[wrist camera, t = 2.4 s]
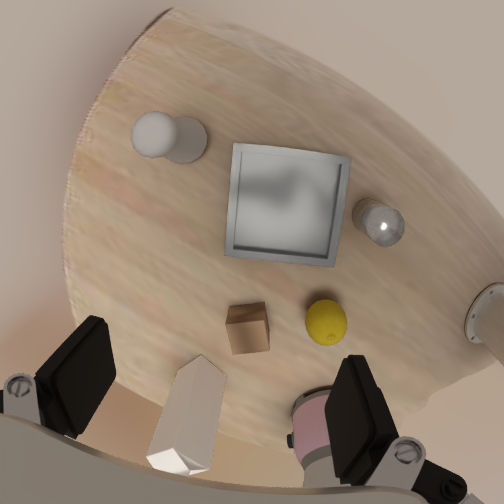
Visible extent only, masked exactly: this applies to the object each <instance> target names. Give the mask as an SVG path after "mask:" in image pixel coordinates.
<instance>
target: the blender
mask: <svg viewBox="0 0 504 504" xmlns="http://www.w3.org/2000/svg"><path fill="white" fill-rule="evenodd" d="M330 391H331V390H324V391H319V392H316V393H313V394H311V395H308V396H307V397H305V396H304V395H301V396H300V397H299V398H298V399H297V400H296V405H295V407H294V409H293V412H292V420H293V432H292V434H288V435H287V443H288V447H289V448H294V449H295V452H294V454H295V457H296V459H298V461H299V463H300V464H301V465H302V467H303V469H304V482H303V488H320V487H341V486H351V484H342V485H340V479H339V478H336V477H335V472H334V466H333V459H332V453H331V447H330V441H329V435H328V429H327V423H326V418H325V412H324V408H325V403H326V401H327V399H328V396H329V394H330Z"/></svg>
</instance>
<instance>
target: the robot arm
mask: <svg viewBox="0 0 504 504" xmlns="http://www.w3.org/2000/svg"><path fill="white" fill-rule="evenodd" d="M465 334H466V336H467V338H468V339H469V340H470V341H471V342H472V343H475V344H479V343H483V344H484V345H485V346H486V347H487V348H488V349H489V350H490V351H491V353H492V354H493V355H494V356H495V357H496V358H497V359H498V360H499V362H500V363H501V364H502V365H503V366H504V285H503V284H501V283H497V284H493V285H491V286H489V287H488V288H486V289H485V290H484V291H483V292H482V293H481V294H480V295H479V296H478V297H477V299H476V300H475V302H474V303H473V305H472V307H471V308H470V310H469V313H468V315H467V319H466V323H465ZM35 374H36V376H35V377H34V378H32V377H31V376H30V375H28V374H24V373H18V374H14V375H12V376H10V377H9V378H8V379H7V380H6V382H5V384H4V388H3V390H0V504H484V503H483V502H482V501H480V500H479V499H478V498H477V497H476V496H475V495H473V494H472V493H471V494H470V495H468V494H467V485H466V482H465V480H464V479H463V478H462V477H460V476H459V475H457V474H455V473H453V472H451V471H449V470H446V469H444V468H442V467H440V466H438V465H436V464H434V463H432V462H430V461H428V460H426V459H425V457H426V451H425V448H424V446H423V445H422V443H420V441H418V440H416V439H415V438H412V437H405V436H404V437H399V435H398V432H397V429H396V427H395V424H394V421H393V419H392V416H391V414H390V411H389V408H388V406H387V403H386V401H385V398H384V396H383V393H382V391H381V389H380V388H379V387H377V385H376V383H375V380H374V378H373V375H372V373H371V371H370V368H369V366H368V363H367V361H366V359H365V357H364V356H363V355H349V356H348V358H344V359H343V361H342V364H341V366H340V369H339V371H338V374H337V377H336V379H335V382H334V384H333V387H332V389H331V391H330V394H329V396H328V399H327V401H326V403H325V408H324V412H325V418H326V423H327V429H328V435H329V441H330V447H331V453H332V459H333V466H334V472H335V477H336V478H339V479H340V485H342V484H351V486H341V487H320V488H286V487H284V488H282V487H263V486H249V485H240V484H231V483H223V482H217V481H210V480H204V479H198V478H193V477H188V476H183V475H179V474H174V473H170V472H166V471H162V470H158V469H154V468H150V467H147V466H143V465H140V464H137V463H133V462H130V461H127V460H124V459H121V458H118V457H115V456H112V455H110V454H107V453H104V452H101V451H99V450H96V449H94V448H91V447H89V446H86V445H84V444H82V443H79V442H77V441H74V440H72V439H70V438H68V437H65V436H64V435H67V436H69V437H71V438H73V439H76V438H77V436H78V434H82V433H83V432H84V430H85V428H86V427H87V425H88V423H89V422H90V420H91V418H92V416H93V414H94V413H95V411H96V409H97V408H98V406H99V405H100V403H101V401H102V400H103V398H104V396H105V395H106V393H107V391H108V389H109V388H110V386H111V385H112V383H113V381H114V380H115V377H116V368H115V363H114V358H113V353H112V347H111V341H110V335H109V329H108V324H107V323H106V322H105V320H104V319H103V318H100V317H96V316H93V315H90V316H89V317H88V318H87V319H86V320H85V321H84V322H83V323H82V324H81V325H80V326H79V327H78V328H77V329H76V330H75V331H74V332H73V333H72V334H71V335H70V336H69V337H68V338H67V339H66V340H65V341H64V342H63V343H62V345H61V346H60V347H59V348H58V349H57V350H56V351H55V352H54V353H53V354H52V355H51V357H49V359H48V360H47V361H46V362H45V363H44V364H43V365H42V366H41V367H40V369H39V370H38V371H37V372H36V373H35Z"/></svg>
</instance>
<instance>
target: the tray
mask: <svg viewBox="0 0 504 504" xmlns="http://www.w3.org/2000/svg"><path fill="white" fill-rule="evenodd" d="M350 162H351V157H345V156H339V155H333V154H327V153H321V152H314V151H307V150H300V149H292V148H284V147H275V146H266V145H256V144H244V143H234V145H233V156H232V167H231V178H230V190H229V202H228V215H227V229H226V243H225V256H228V257H238V258H247V259H257V260H266V261H276V262H286V263H296V264H305V265H315V266H325V267H334V264H335V259H336V253H337V248H338V242H339V237H340V231H341V225H342V219H343V213H344V206H345V199H346V193H347V185H348V178H349V170H350Z"/></svg>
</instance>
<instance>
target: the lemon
mask: <svg viewBox="0 0 504 504" xmlns="http://www.w3.org/2000/svg"><path fill="white" fill-rule="evenodd" d="M305 325H306V330H307V332H308V334H309V336H310V337H311V338H312V339H313V340H314V341H315V342H316V343H318V344H320V345H324V346H329V345H333V344H336V343H338V342H339V341H340V340H341V339H342V338H343V337H344V335H345V333H346V330H347V318H346V314H345V312H344V310H343V309H342V307H341V306H340V305H339V304H338V303H336V302H334V301H332V300H327V299H326V300H320V301H317V302H315V303H314V304H313V305H311V306H310V308H309V309H308V311H307V313H306V318H305Z"/></svg>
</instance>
